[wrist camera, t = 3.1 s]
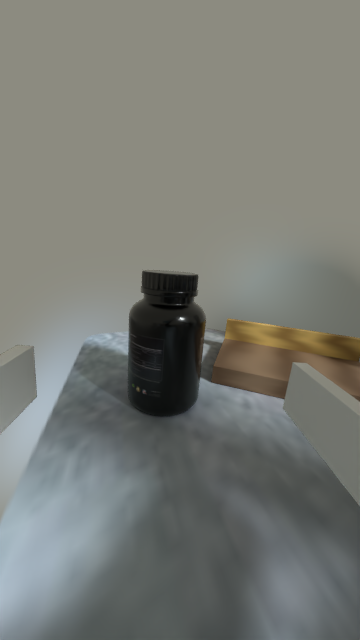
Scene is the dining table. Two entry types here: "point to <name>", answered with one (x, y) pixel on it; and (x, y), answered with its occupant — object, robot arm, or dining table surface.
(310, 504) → the dining table surface
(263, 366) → the brown flat block
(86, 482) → the dining table surface
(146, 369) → the supplement bottle
